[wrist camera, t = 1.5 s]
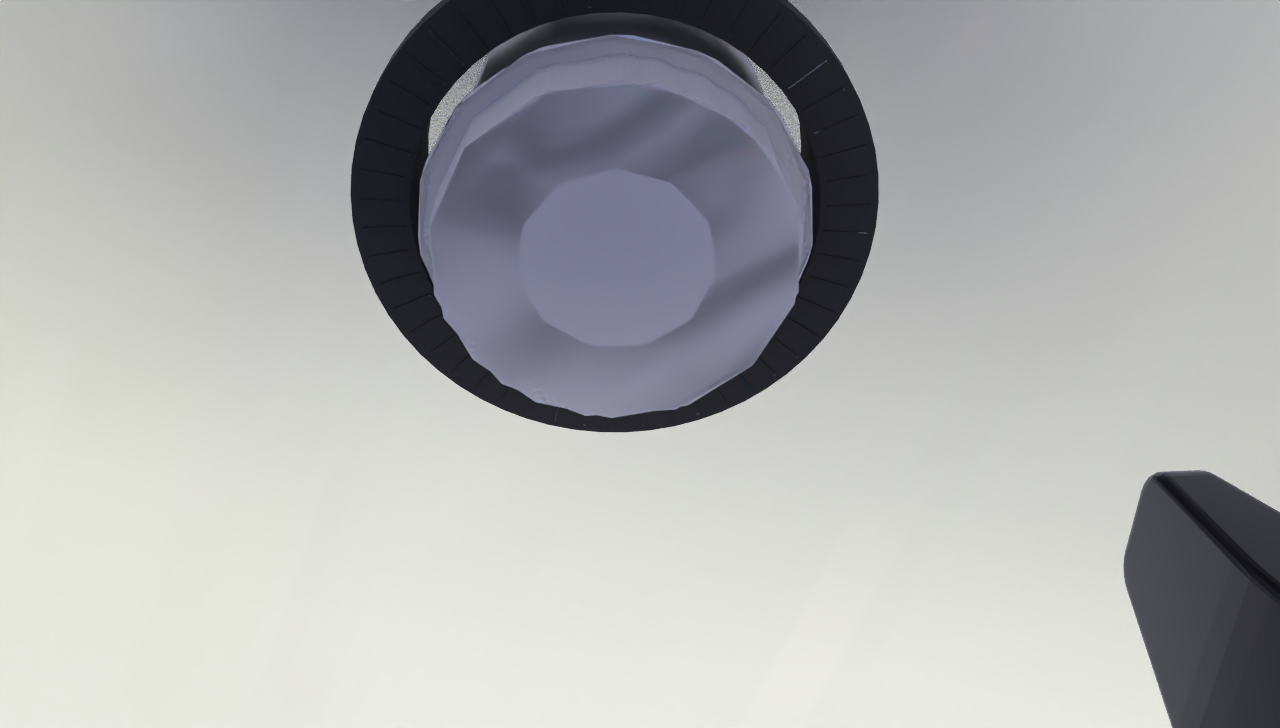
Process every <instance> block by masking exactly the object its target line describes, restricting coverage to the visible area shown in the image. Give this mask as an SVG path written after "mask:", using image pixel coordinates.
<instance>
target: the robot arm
mask: <svg viewBox="0 0 1280 728" xmlns="http://www.w3.org/2000/svg"><path fill="white" fill-rule="evenodd" d="M1124 578H1125V584H1126V587H1127V591H1128V594H1129V597H1130V600H1131V603H1132V606H1133V609H1134V612H1135V615H1136V618H1137V622H1138V625H1139V628H1140V631H1141V634H1142V637H1143V640H1144V643H1145V646H1146V649H1147V652H1148V655H1149V658H1150V661H1151V664H1152V667H1153V670H1154V673H1155V676H1156V680H1157V683H1158V686H1159V689H1160V692H1161V695H1162V698H1163V701H1164V704H1165V707H1166V710H1167V713H1168V716H1169V719H1170V722H1171V725H1172V728H1280V512H1278V511H1277V510H1275V509H1273V508H1271V507H1270V506H1268V505H1266V504H1264V503H1263V502H1261V501H1259V500H1257V499H1256V498H1254V497H1252V496H1251V495H1249V494H1247V493H1245V492H1244V491H1242V490H1240V489H1238V488H1237V487H1235V486H1233V485H1231V484H1230V483H1228V482H1226V481H1224V480H1223V479H1221V478H1219V477H1218V476H1216V475H1214V474H1212V473H1210V472H1206V471H1200V470H1195V471H1170V472H1158V473H1155V474H1153V475H1151V476H1150V477H1149V478H1148V479H1147V481H1146V482H1145V484H1144V486H1143V489H1142V491H1141V495H1140V499H1139V502H1138V506H1137V510H1136V514H1135V517H1134V521H1133V525H1132V529H1131V532H1130V536H1129V540H1128V544H1127V547H1126V551H1125V556H1124Z"/></svg>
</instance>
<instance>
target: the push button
mask: <svg viewBox="0 0 1280 728" xmlns="http://www.w3.org/2000/svg"><path fill="white" fill-rule="evenodd" d="M487 53H488V55H487V58H486V60H485V63H484V65H483V67H482V70H481V72H480V75H479V77H478V80H477V82H476V85H475V87H474V90H472V91H471V92H470V93H469V94H468V95H467V96H466V97H465V98H464V99H463V100H462V101H461V102H460V104H459V105H458V106H457V107H456V108H455V109H454V111H453V113H452V115H451V117H450V118H449V120H448V122H447V124H446V126H445V127H444V129H443V131H442V133H441V135H440V136H439V138H438V140H437V142H436V144H435V145H434V147H433V149H432V151H431V152H430V154H429V156H428V134H429V126H430V119H431V116H432V115H433V113H434V111H435V110H436V108H437V106H438V105H439V103H440V101H441V100H442V99H443V97H444V96H445V95H446V93H447V92H448V91H449V90H450V88H451V87H452V86H453V85H454V83H455V82H456V81H457V80H458V79H459V78H460V77H461V76H462V75H463V74H464V73H465V72H466V71H467V70H468V69H469V68H470V67H471V66H472V65H473V64H474V63H475V62H477V61H478V60H479V59H481V58H482V57H483V56H485V55H486V54H487ZM747 56H748V57H749V58H750V59H751V60H752V61H753V62H755V63H756V64H757V65H758V66H759V67H760V68H762V69H763V70H764V71H765V72H766V73H767V74H768V75H769V76H770V78H771V79H772V80H773V81H774V82H775V83H776V84H777V85H778V86H779V87H780V89H781V90H782V91H783V92H784V94H785V95H786V97H787V98H788V100H789V101H790V103H791V104H792V105H793V107H794V108H795V110H796V112H797V114H798V118H799V122H800V135H801V154H800V152H799V150H798V148H797V146H796V144H795V142H794V140H793V138H792V136H791V134H790V132H789V130H788V128H787V126H786V124H785V122H784V120H783V118H782V116H781V114H780V113H779V112H778V111H777V110H776V108H775V107H774V106H773V105H772V103H771V102H770V101H769V100H768V99H767V98H766V97H764V94H763V91H762V88H761V85H760V83H759V80H758V78H757V76H756V73H755V71H754V69H753V67H752V65H751V63H750V61H749V59H748V57H747ZM351 204H352V217H353V224H354V229H355V234H356V239H357V244H358V248H359V251H360V254H361V257H362V261H363V264H364V267H365V270H366V272H367V274H368V277H369V279H370V281H371V283H372V286H373V288H374V290H375V292H376V294H377V296H378V298H379V299H380V301H381V303H382V305H383V306H384V308H385V310H386V311H387V313H388V315H389V316H390V318H391V319H392V320H393V322H394V323H395V324H396V326H397V327H398V329H399V330H400V331H401V333H402V334H403V335H404V336H405V337H406V339H407V340H408V341H409V342H410V343H411V344H412V345H413V346H414V347H415V349H416V350H417V351H418V352H419V353H420V354H421V355H422V356H423V357H424V358H425V359H427V360H428V361H429V362H430V363H431V364H432V365H433V366H434V367H435V368H436V369H438V370H439V371H440V372H441V373H443V374H444V375H445V376H447V377H448V378H449V379H451V380H452V381H453V382H455V383H456V384H457V385H459V386H460V387H462V388H464V389H465V390H467V391H469V392H470V393H472V394H474V395H475V396H477V397H479V398H480V399H482V400H484V401H486V402H489V403H491V404H493V405H495V406H497V407H499V408H501V409H503V410H506V411H508V412H511V413H514V414H516V415H519V416H521V417H524V418H527V419H531V420H534V421H538V422H541V423H545V424H549V425H553V426H558V427H564V428H569V429H575V430H585V431H595V432H633V431H646V430H654V429H660V428H666V427H672V426H677V425H681V424H684V423H688V422H692V421H696V420H700V419H702V418H705V417H708V416H711V415H713V414H716V413H719V412H722V411H724V410H726V409H728V408H731V407H733V406H735V405H737V404H739V403H741V402H744V401H746V400H747V399H749V398H751V397H752V396H754V395H756V394H758V393H759V392H761V391H763V390H765V389H766V388H768V387H769V386H771V385H772V384H773V383H775V382H776V381H778V380H779V379H780V378H782V377H783V376H785V375H786V374H787V373H788V372H790V371H791V370H792V369H793V368H794V367H795V366H796V365H798V364H799V363H800V362H801V361H802V360H803V359H804V358H806V357H807V356H808V354H809V353H810V352H811V351H812V350H813V349H814V348H815V347H816V346H817V345H818V344H819V343H820V342H821V341H822V340H823V338H824V337H825V336H826V334H827V333H828V332H829V331H830V329H831V328H832V327H833V325H834V324H835V323H836V321H837V320H838V319H839V317H840V315H841V314H842V312H843V310H844V309H845V307H846V306H847V304H848V302H849V301H850V299H851V297H852V295H853V293H854V291H855V289H856V287H857V285H858V283H859V280H860V278H861V276H862V274H863V271H864V268H865V265H866V262H867V259H868V256H869V254H870V250H871V246H872V241H873V237H874V232H875V228H876V220H877V211H878V169H877V161H876V153H875V147H874V143H873V139H872V135H871V131H870V127H869V123H868V121H867V118H866V115H865V112H864V110H863V107H862V104H861V102H860V99H859V97H858V95H857V93H856V91H855V89H854V87H853V85H852V83H851V81H850V79H849V77H848V75H847V74H846V72H845V70H844V68H843V66H842V64H841V62H840V61H839V59H838V58H837V56H836V55H835V53H834V52H833V50H832V49H831V47H830V46H829V44H828V43H827V41H826V40H825V39H824V38H823V37H822V35H821V34H820V33H819V32H818V31H817V29H816V28H815V27H814V26H813V25H812V24H811V22H810V21H809V20H808V19H807V18H806V17H805V16H804V15H803V14H802V13H800V12H799V11H798V10H797V9H796V8H795V7H794V6H793V5H792V4H791V3H790V2H789V1H788V0H442V1H441V2H440V3H438V4H437V5H436V6H435V7H434V8H432V9H431V10H430V11H429V12H428V13H427V14H426V15H425V16H424V17H423V18H422V19H421V21H420V22H419V23H418V24H417V25H416V26H415V27H414V28H413V29H412V30H411V31H410V32H409V34H408V35H407V36H406V38H405V39H404V41H403V42H402V43H401V45H400V46H399V47H398V49H397V50H396V51H395V53H394V54H393V56H392V58H391V59H390V61H389V63H388V65H387V66H386V68H385V70H384V72H383V73H382V75H381V77H380V79H379V81H378V83H377V85H376V87H375V89H374V91H373V94H372V96H371V99H370V101H369V103H368V106H367V108H366V110H365V113H364V115H363V119H362V122H361V126H360V129H359V133H358V136H357V140H356V144H355V151H354V157H353V163H352V174H351Z"/></svg>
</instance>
